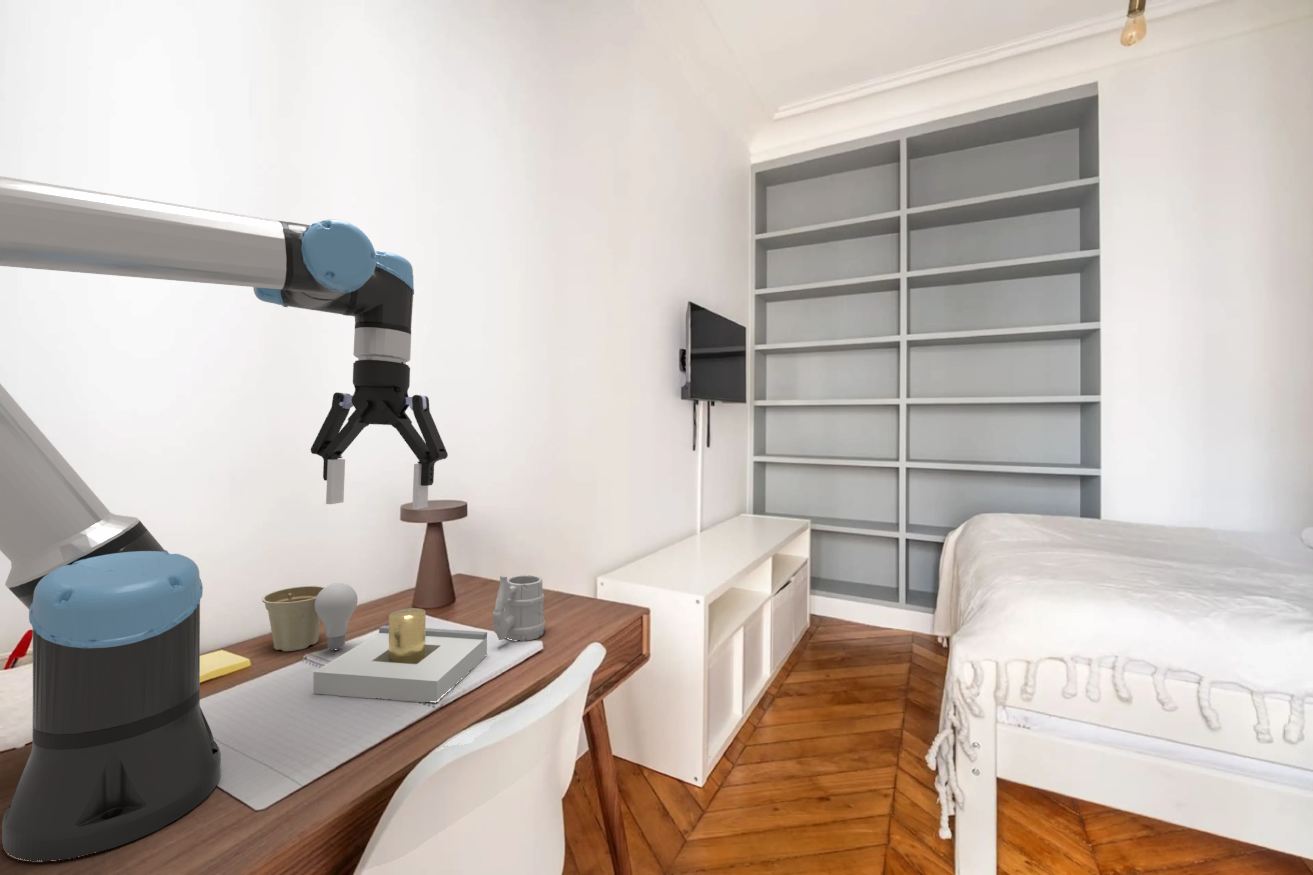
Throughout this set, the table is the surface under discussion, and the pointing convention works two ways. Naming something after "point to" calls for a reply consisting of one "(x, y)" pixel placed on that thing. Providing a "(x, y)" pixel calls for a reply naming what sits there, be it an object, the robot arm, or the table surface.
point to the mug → (519, 608)
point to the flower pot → (293, 617)
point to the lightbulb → (336, 612)
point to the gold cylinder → (407, 636)
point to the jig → (402, 667)
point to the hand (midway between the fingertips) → (376, 505)
